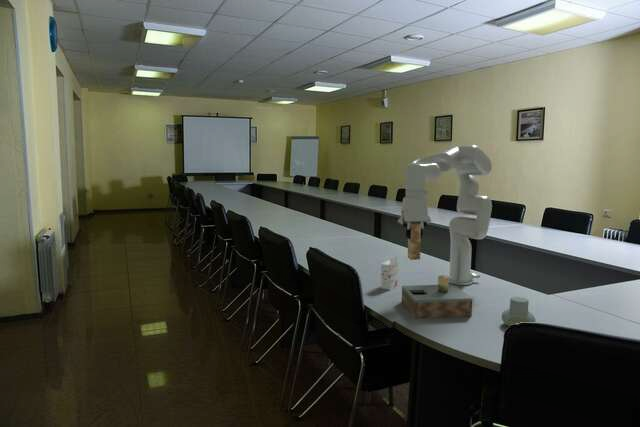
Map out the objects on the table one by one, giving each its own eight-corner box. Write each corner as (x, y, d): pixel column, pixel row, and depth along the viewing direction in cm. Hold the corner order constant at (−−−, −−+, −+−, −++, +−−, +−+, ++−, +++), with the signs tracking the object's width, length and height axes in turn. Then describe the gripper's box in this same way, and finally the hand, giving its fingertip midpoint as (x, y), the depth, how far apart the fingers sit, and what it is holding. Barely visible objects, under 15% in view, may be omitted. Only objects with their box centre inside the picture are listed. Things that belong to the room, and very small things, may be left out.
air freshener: (501, 328, 150) (503, 301, 149) (500, 320, 158) (502, 294, 157) (536, 333, 147) (537, 305, 145) (533, 324, 154) (535, 297, 153)
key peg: (416, 257, 181) (417, 222, 178) (420, 259, 177) (420, 223, 175) (407, 257, 180) (408, 222, 178) (410, 259, 176) (411, 223, 174)
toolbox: (452, 300, 180) (453, 286, 179) (471, 316, 162) (472, 300, 161) (401, 302, 178) (401, 288, 177) (415, 318, 160) (415, 302, 159)
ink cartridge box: (387, 283, 204) (388, 253, 202) (397, 285, 201) (398, 254, 199) (380, 288, 196) (380, 257, 194) (390, 290, 194) (391, 258, 192)
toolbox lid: (453, 286, 179) (454, 270, 178) (472, 300, 161) (473, 282, 160) (401, 288, 177) (402, 271, 176) (415, 302, 159) (416, 284, 158)
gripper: (431, 192, 179) (430, 235, 182) (392, 193, 177) (392, 237, 180) (438, 194, 172) (437, 239, 174) (397, 195, 170) (397, 240, 173)
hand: (414, 237), depth 177 cm, fingers closed on key peg, 4 cm apart
